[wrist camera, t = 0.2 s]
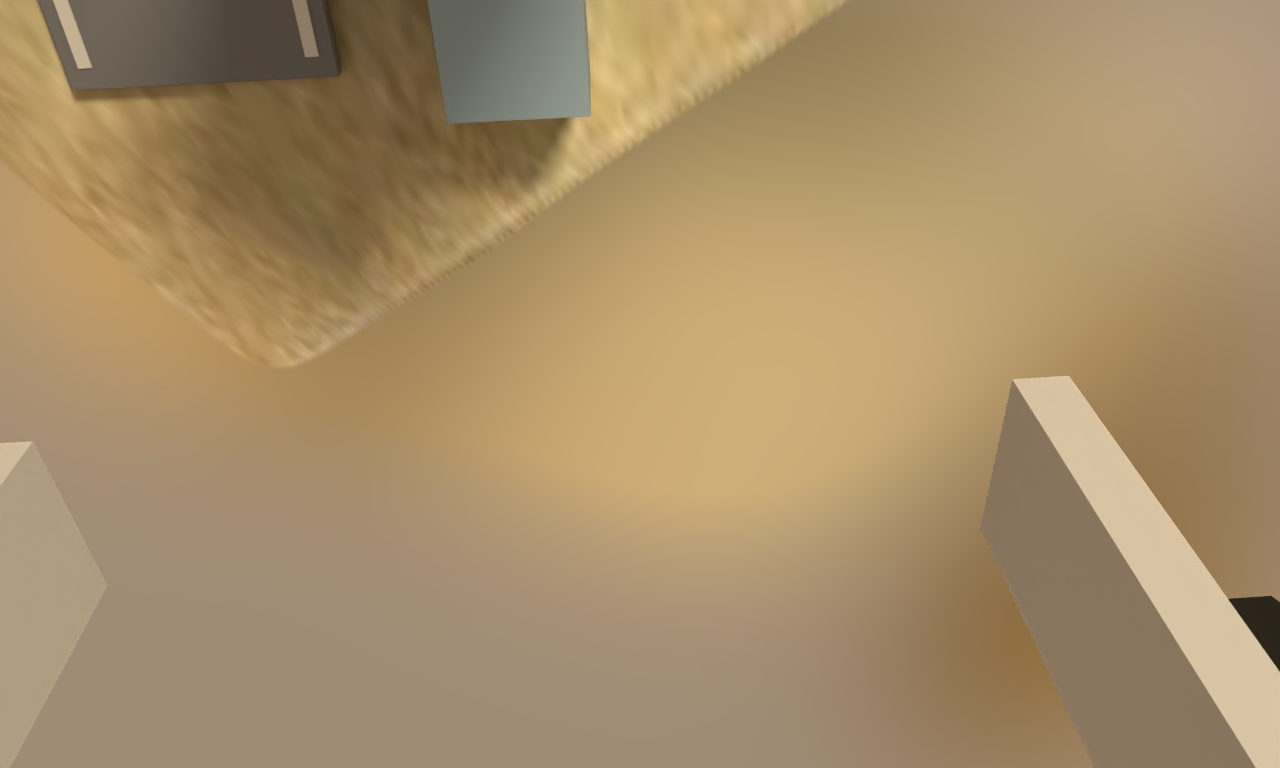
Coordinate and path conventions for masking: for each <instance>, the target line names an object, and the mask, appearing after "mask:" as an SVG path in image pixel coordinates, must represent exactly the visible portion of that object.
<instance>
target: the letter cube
mask: <svg viewBox="0 0 1280 768" xmlns="http://www.w3.org/2000/svg"><path fill="white" fill-rule="evenodd" d="M427 1H428V7H429V14H430V20H431V27H432V33H433V39H434V46H435V52H436V59H437V65H438V71H439V78H440V84H441V91H442V97H443V103H444V110H445V116H446V123H447V124H454V123H474V122H493V121H512V120H531V119H550V118H569V117H588V116H591V101H590V63H589V48H588V33H587V18H586V3H585V0H427Z"/></svg>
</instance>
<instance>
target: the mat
mask: <svg viewBox="0 0 1280 768" xmlns="http://www.w3.org/2000/svg"><path fill="white" fill-rule="evenodd" d="M38 1H39V4H40V7H41V9H42V12H43V15H44V17H45V20H46V23H47V25H48V28H49V31H50V33H51V36H52V38H53V41H54V44H55V46H56V49H57V52H58V54H59V57H60V60H61V62H62V65H63V68H64V70H65V73H66V76H67V78H68V81H69V84H70V86H71V89H72V90H87V89H107V88H126V87H145V86H165V85H184V84H203V83H223V82H242V81H261V80H281V79H300V78H319V77H338V76H339V75H340V73H341V72H342V71H341V66H340V61H339V57H338V52H337V47H336V43H335V38H334V33H333V29H332V24H331V19H330V15H329V10H328V5H327V0H38Z"/></svg>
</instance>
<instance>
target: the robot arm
mask: <svg viewBox="0 0 1280 768" xmlns="http://www.w3.org/2000/svg"><path fill="white" fill-rule="evenodd" d="M980 529H981V531H982V533H983V535H984V538H985V540H986V541H987V544H988V546H989V548H990V550H991V552H992V554H993V556H994V559H995V561H996V563H997V565H998V567H999V569H1000V571H1001V573H1002V575H1003V577H1004V579H1005V581H1006V584H1007V585H1008V588H1009V590H1010V592H1011V594H1012V596H1013V598H1014V600H1015V603H1016V605H1017V607H1018V609H1019V611H1020V613H1021V615H1022V617H1023V619H1024V622H1025V624H1026V626H1027V628H1028V630H1029V632H1030V634H1031V636H1032V638H1033V640H1034V642H1035V645H1036V646H1037V649H1038V651H1039V653H1040V655H1041V657H1042V659H1043V661H1044V664H1045V665H1046V668H1047V670H1048V672H1049V674H1050V676H1051V678H1052V680H1053V682H1054V685H1055V687H1056V689H1057V690H1058V693H1059V695H1060V697H1061V699H1062V701H1063V703H1064V705H1065V707H1066V710H1067V712H1068V714H1069V716H1070V718H1071V720H1072V722H1073V724H1074V727H1075V729H1076V731H1077V733H1078V735H1079V737H1080V739H1081V741H1082V743H1083V745H1084V747H1085V750H1086V752H1087V754H1088V756H1089V758H1090V760H1091V762H1092V764H1093V766H1094V768H1280V602H1279V601H1277V600H1276V599H1275V598H1273V597H1272V596H1263V597H1249V598H1233V599H1227V597H1226V596H1225V594H1224V593H1223V592H1222V590H1221V589H1220V587H1219V586H1218V585H1217V583H1216V582H1215V580H1214V579H1213V577H1212V576H1211V575H1210V573H1209V572H1208V570H1207V569H1206V568H1205V566H1204V565H1203V564H1202V562H1201V561H1200V559H1199V558H1198V556H1197V555H1196V554H1195V552H1194V551H1193V550H1192V548H1191V547H1190V545H1189V544H1188V542H1187V541H1186V540H1185V538H1184V537H1183V535H1182V534H1181V533H1180V531H1179V530H1178V528H1177V527H1176V526H1175V524H1174V523H1173V521H1172V520H1171V519H1170V517H1169V516H1168V514H1167V513H1166V512H1165V510H1164V509H1163V507H1162V506H1161V505H1160V503H1159V502H1158V500H1157V499H1156V498H1155V496H1154V495H1153V494H1152V492H1151V491H1150V489H1149V488H1148V486H1147V485H1146V483H1145V482H1144V481H1143V479H1142V478H1141V477H1140V475H1139V474H1138V472H1137V471H1136V469H1135V468H1134V467H1133V465H1132V464H1131V462H1130V461H1129V460H1128V458H1127V457H1126V455H1125V454H1124V453H1123V451H1122V450H1121V448H1120V447H1119V446H1118V444H1117V443H1116V442H1115V440H1114V439H1113V437H1112V436H1111V434H1110V433H1109V432H1108V430H1107V429H1106V428H1105V426H1104V425H1103V423H1102V422H1101V421H1100V419H1099V418H1098V416H1097V415H1096V413H1095V412H1094V411H1093V409H1092V408H1091V406H1090V405H1089V404H1088V402H1087V401H1086V399H1085V398H1084V397H1083V395H1082V394H1081V393H1080V391H1079V390H1078V388H1077V387H1076V385H1075V384H1074V383H1073V381H1072V380H1071V378H1070V377H1069V376H1059V377H1043V378H1027V379H1013V380H1012V384H1011V389H1010V393H1009V398H1008V403H1007V407H1006V412H1005V416H1004V421H1003V426H1002V431H1001V436H1000V440H999V444H998V450H997V454H996V458H995V463H994V468H993V472H992V477H991V482H990V486H989V491H988V496H987V500H986V506H985V510H984V514H983V519H982V524H981V528H980ZM106 587H107V585H106V583H105V581H104V579H103V577H102V575H101V573H100V571H99V569H98V567H97V565H96V563H95V561H94V559H93V557H92V555H91V553H90V552H89V550H88V548H87V546H86V544H85V542H84V540H83V538H82V536H81V534H80V532H79V530H78V528H77V526H76V524H75V522H74V520H73V518H72V516H71V514H70V513H69V511H68V509H67V507H66V505H65V503H64V501H63V499H62V497H61V495H60V493H59V491H58V489H57V487H56V485H55V483H54V481H53V479H52V478H51V475H50V473H49V472H48V470H47V468H46V466H45V464H44V462H43V460H42V458H41V456H40V454H39V452H38V450H37V448H36V446H35V444H34V442H33V441H29V442H14V443H0V768H10V766H11V764H12V762H13V761H14V759H15V757H16V755H17V753H18V751H19V749H20V747H21V746H22V744H23V742H24V740H25V738H26V736H27V734H28V732H29V731H30V729H31V727H32V725H33V723H34V721H35V719H36V718H37V716H38V714H39V712H40V710H41V708H42V706H43V705H44V702H45V701H46V699H47V697H48V695H49V693H50V691H51V690H52V688H53V686H54V684H55V682H56V680H57V678H58V676H59V674H60V673H61V671H62V669H63V667H64V665H65V663H66V662H67V660H68V658H69V656H70V654H71V652H72V650H73V648H74V647H75V645H76V643H77V641H78V639H79V637H80V635H81V633H82V632H83V630H84V628H85V626H86V624H87V622H88V620H89V618H90V617H91V615H92V613H93V611H94V609H95V607H96V605H97V604H98V602H99V600H100V598H101V596H102V594H103V592H104V590H105V589H106Z"/></svg>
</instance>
